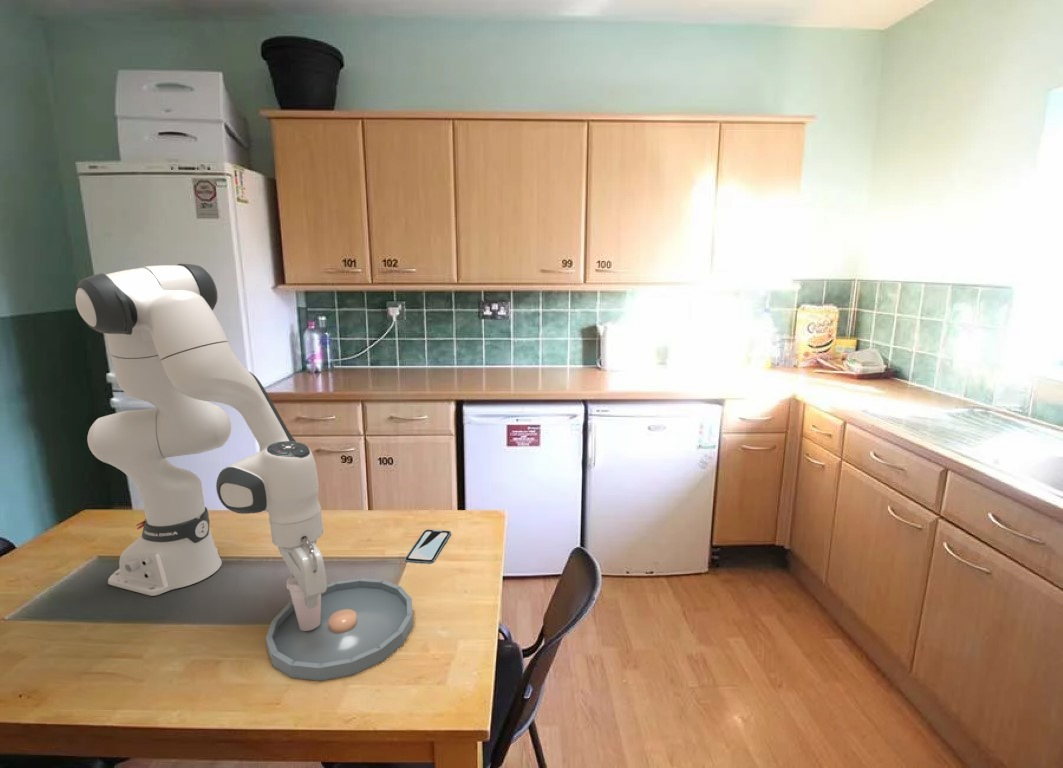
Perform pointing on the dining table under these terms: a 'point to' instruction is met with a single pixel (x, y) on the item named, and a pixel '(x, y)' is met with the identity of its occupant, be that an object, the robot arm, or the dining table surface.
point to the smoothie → (304, 607)
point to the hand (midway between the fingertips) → (304, 594)
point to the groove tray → (342, 631)
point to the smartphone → (428, 546)
